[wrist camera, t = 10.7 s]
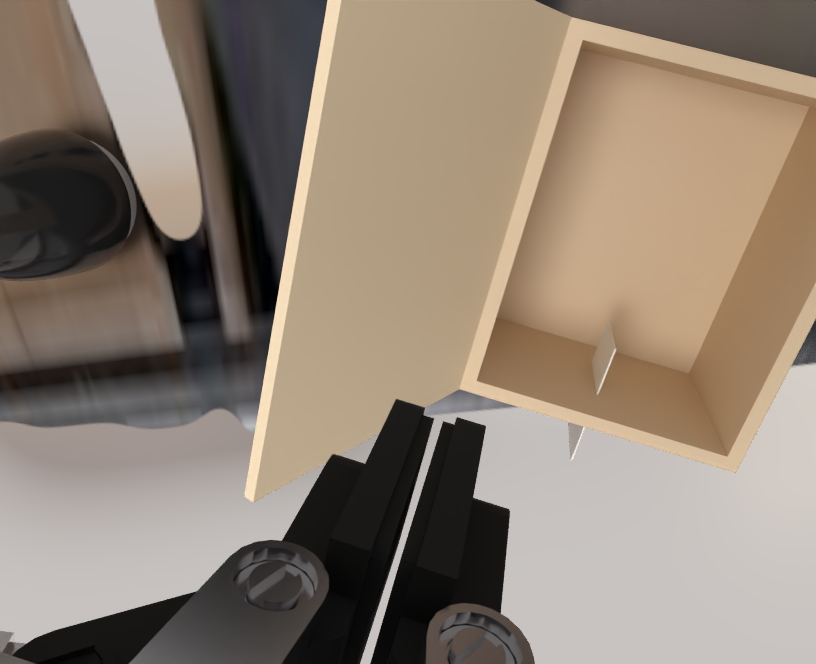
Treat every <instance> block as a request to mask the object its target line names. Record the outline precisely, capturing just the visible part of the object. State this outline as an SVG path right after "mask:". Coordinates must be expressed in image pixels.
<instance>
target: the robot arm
mask: <svg viewBox="0 0 816 664" xmlns="http://www.w3.org/2000/svg"><path fill="white" fill-rule="evenodd" d="M424 410H425V407H422V406H418V405H415V404H412V403H409V402H405V401H402V400H399V399H396V400H395V402H394V404H393V406H392V408H391V410H390V413H389V415H388V417H387V419H386V421H385V423H384V425H383V427H382V429H381V432H380V434H379V436H378V438H377V440H376V442H375V445H374V446H373V448H372V451H371V453H370V455H369V457H368V459H367V461H366V464H364V463H361V462H358V461H355V460H351V459H348V458H345V457H342V456H339V455H336V454H333V455H331V457H330V458H329V460H328V461H327V463H326V465H325V467H324V468H323V470H322V472H321V474H320V475H319V477H318V479H317V481H316V482H315V484H314V486H313V488H312V489H311V491H310V493H309V495H308V496H307V498H306V500H305V502H304V504H303V505H302V507H301V508H300V510H299V512H298V514H297V516H296V517H295V519H294V521H293V522H292V524H291V526H290V528H289V530H288V531H287V533H286V535H285V537H284V538H283V540H282V541H278V540H267V541H259V542H254V543H252V544H249V545H247V546H244V547H242V548H240V549H239V550H238V551H236V552H235V553H234V554H232V555H231V556H230V557H229V558H228V559H227V560H226V561H225V562H224V563H223V564H222V565H221V567H220V568H219V569H218V570H217V571H216V572H215V573H214V574H213V575H212V576H211V577H210V578H209V579H208V581H206V582H205V583H204V585H203V586H202V587H201V588H200V589H199V590H198V591H196V592H193V593H190V594H185V595H182V596H178V597H175V598H171V599H167V600H164V601H160V602H157V603H153V604H149V605H145V606H142V607H138V608H135V609H131V610H127V611H124V612H120V613H116V614H113V615H109V616H106V617H102V618H98V619H95V620H91V621H87V622H84V623H80V624H77V625H73V626H69V627H66V628H62V629H58V630H55V631H52V632H50V633H47V634H44V635H42V636H39V637H37V638H34V639H33V640H31V641H30V642H28V643H27V644H23V643H15V642H14V633H11V632H4V631H0V664H360V661H361V658H362V655H363V652H364V649H365V646H366V643H367V640H368V637H369V633H370V631H371V628H372V625H373V621H374V618H375V615H376V612H377V609H378V606H379V603H380V600H381V596H382V594H383V590H384V587H385V584H386V581H387V578H388V575H389V572H390V569H391V566H392V563H393V559H394V556H395V553H396V550H397V547H398V544H399V540H400V537H401V533H402V529H403V526H404V523H405V519H406V516H407V512H408V509H409V505H410V502H411V498H412V494H413V491H414V487H415V484H416V481H417V477H418V473H419V470H420V466H421V463H422V459H423V456H424V452H425V449H426V445H427V442H428V438H429V435H430V431H431V428H432V424H433V420H434V418H430V417H427V416H424V415H423V414H424ZM485 429H486V426H484V425H481V424H477V423H474V422H471V421H468V420H464V419H461V418H458V417H457V419H456V422H455V425H453V424H450V423H447V422H443V424H442V427H441V430H440V434H439V437H438V440H437V443H436V447H435V450H434V453H433V456H432V459H431V463H430V466H429V469H428V472H427V476H426V479H425V482H424V486H423V489H422V492H421V496H420V499H419V502H418V505H417V508H416V511H415V515H414V518H413V521H412V525H411V527H410V531H409V534H408V537H407V541H406V544H405V547H404V550H403V554H402V557H401V560H400V564H399V567H398V570H397V574H396V577H395V581H394V584H393V587H392V591H391V595H390V598H389V601H388V605H387V609H386V612H385V615H384V619H383V623H382V626H381V629H380V633H379V636H378V639H377V643H376V647H375V650H374V653H373V657H372V660H371V663H370V664H535V662H534V657H533V654H532V650H531V648H530V644H529V642H528V641H527V639H526V638H525V636H524V635H523V633H522V632H521V630H520V629H519V628H518V627H517V626H516V625H515V624H513V623H512V622H511V621H510V620H509V619H508V618H507V617H505V616H503V615H502V614H501V603H502V592H503V582H504V571H505V560H506V549H507V538H508V528H509V517H510V511H509V509H507V508H503V507H500V506H497V505H493V504H491V503H487V502H484V501H481V500H478V499H475V498H473V494H474V489H475V483H476V478H477V472H478V467H479V461H480V455H481V451H482V445H483V440H484V434H485Z"/></svg>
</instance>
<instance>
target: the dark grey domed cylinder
mask: <svg viewBox="0 0 816 664" xmlns="http://www.w3.org/2000/svg"><path fill="white" fill-rule="evenodd" d="M136 210H137V204H136V195H135V191H134V187H133V184H132V182H131V180H130V177H129V176H128V174H127V172H126V170H125V169H124V167H123V166H122V165H121V163H120V162H119V161H118V160H117V159H116V158H115V157H114V156H113V155H112V154H111V153H110V152H108V151H107V150H106V149H104V148H103V147H101V146H100V145H98V144H96V143H94V142H93V141H90V140H88V139H86V138H84V137H82V136H81V135H78V134H76V133H73V132H70V131H67V130H62V129H40V130H33V131H29V132H25V133H21V134H18V135H15V136H11V137H8V138H6V139H3V140H0V280H8V281H35V280H46V279H54V278H60V277H65V276H70V275H74V274H78V273H82V272H86V271H89V270H92V269H95V268H97V267H99V266H101V265H103V264H105V263H107V262H109V261H110V260H111V259H113V258H114V257H115V256H116V255H117V254H118V253H119V251H120V250H121V249H122V247H123V246H124V244H125V242H126V240H127V238H128V236H129V235H130V233H131V231H132V228H133V226H134V222H135V218H136Z"/></svg>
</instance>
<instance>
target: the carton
mask: <svg viewBox="0 0 816 664" xmlns="http://www.w3.org/2000/svg"><path fill="white" fill-rule="evenodd" d="M815 319H816V78H814V77H810V76H806V75H802V74H798V73H794V72H790V71H786V70H782V69H778V68H774V67H770V66H766V65H762V64H758V63H754V62H750V61H746V60H742V59H738V58H734V57H730V56H726V55H722V54H718V53H714V52H710V51H706V50H702V49H698V48H694V47H690V46H685V45H681V44H677V43H673V42H669V41H665V40H661V39H657V38H653V37H649V36H645V35H641V34H637V33H633V32H629V31H625V30H621V29H617V28H613V27H609V26H605V25H601V24H597V23H593V22H589V21H585V20H581V19H577V18H573V17H571V20H570V24H569V27H568V30H567V34H566V37H565V40H564V44H563V47H562V50H561V54H560V57H559V60H558V63H557V67H556V70H555V73H554V77H553V80H552V83H551V87H550V90H549V93H548V97H547V100H546V103H545V107H544V110H543V113H542V117H541V120H540V123H539V127H538V130H537V133H536V136H535V140H534V143H533V146H532V150H531V153H530V156H529V160H528V163H527V166H526V170H525V173H524V176H523V180H522V183H521V186H520V190H519V193H518V196H517V200H516V203H515V206H514V209H513V213H512V216H511V219H510V223H509V226H508V229H507V233H506V236H505V239H504V243H503V246H502V249H501V253H500V256H499V259H498V263H497V266H496V269H495V273H494V276H493V279H492V282H491V286H490V289H489V292H488V296H487V299H486V302H485V306H484V309H483V312H482V316H481V319H480V322H479V326H478V329H477V332H476V336H475V339H474V342H473V345H472V349H471V352H470V355H469V359H468V362H467V365H466V369H465V372H464V375H463V379H462V382H461V385H460V389H461V390H464V391H468V392H471V393H474V394H478V395H481V396H484V397H487V398H491V399H494V400H497V401H501V402H504V403H507V404H510V405H514V406H517V407H520V408H524V409H527V410H530V411H534V412H537V413H540V414H544V415H547V416H550V417H553V418H557V419H560V420H564V421H566V422H568V426H569V443H570V461H572V460H573V457H574V454H575V452H576V450H577V447H578V445H579V442H580V440H581V437H582V435H583V432H584V430H585V427H586V428H590V429H593V430H596V431H599V432H603V433H606V434H609V435H613V436H616V437H619V438H622V439H626V440H629V441H633V442H636V443H639V444H642V445H646V446H649V447H652V448H656V449H659V450H662V451H665V452H669V453H672V454H676V455H678V456H682V457H685V458H688V459H692V460H695V461H698V462H702V463H705V464H708V465H711V466H715V467H718V468H722V469H725V470H728V471H731V472H734V473H736V472H737V470H738V468H739V466H740V464H741V462H742V460H743V458H744V456H745V454H746V452H747V450H748V448H749V447H750V445H751V443H752V440H753V439H754V437H755V435H756V433H757V431H758V429H759V427H760V425H761V423H762V421H763V420H764V417H765V416H766V414H767V412H768V410H769V408H770V406H771V404H772V402H773V400H774V398H775V396H776V394H777V392H778V391H779V389H780V387H781V385H782V383H783V381H784V379H785V377H786V375H787V373H788V371H789V369H790V367H791V365H792V363H793V362H794V360H795V358H796V356H797V354H798V352H799V350H800V348H801V346H802V344H803V342H804V340H805V338H806V336H807V334H808V333H809V331H810V329H811V327H812V325H813V323H814V321H815Z"/></svg>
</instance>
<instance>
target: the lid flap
mask: <svg viewBox="0 0 816 664" xmlns="http://www.w3.org/2000/svg"><path fill="white" fill-rule="evenodd" d="M570 20H571V17H570V16H568V15H566V14H563V13H561V12H559V11H557V10H555V9H552V8H550V7H548V6H546V5H543V4H541V3H539V2H537V1H535V0H328V2H327V8H326V14H325V20H324V26H323V32H322V37H321V43H320V49H319V55H318V61H317V67H316V73H315V79H314V85H313V91H312V97H311V103H310V109H309V115H308V121H307V127H306V132H305V138H304V144H303V150H302V156H301V162H300V168H299V174H298V180H297V186H296V192H295V198H294V204H293V210H292V216H291V222H290V227H289V233H288V239H287V245H286V251H285V257H284V263H283V269H282V275H281V281H280V287H279V293H278V299H277V305H276V311H275V317H274V323H273V328H272V334H271V340H270V346H269V352H268V358H267V364H266V370H265V376H264V382H263V388H262V394H261V400H260V406H259V412H258V418H257V423H256V429H255V435H254V442H253V447H252V453H251V459H250V465H249V471H248V477H247V483H246V489H245V495H244V496H245V497H246V498H248V499H249V500H250V501H252V502H255V501H257V500H259V499H261V498H263V497H264V496H266V495H268V494H270V493H272V492H273V491H275V490H277V489H279V488H280V487H282V486H284V485H286V484H288V483H289V482H292V481H293V480H295V479H297V478H299V477H301V476H302V475H304V474H306V473H308V472H310V471H312V470H313V469H315V468H317V467H319V466H320V465H322V464H324V463H326V462H327V461H328V460H329V458H330V457H331V455H333V454H336V455H340V454H342V453H344V452H346V451H348V450H350V449H351V448H353V447H355V446H357V445H359V444H361V443H362V442H364V441H366V440H368V439H370V438H371V437H373V436H375V435H377V434H379V433H380V432H381V429H382V427H383V425H384V423H385V421H386V419H387V417H388V415H389V413H390V410H391V408H392V406H393V404H394V402H395V400H396V399H399V400H402V401H405V402H409V403H412V404H415V405H418V406H422V407H425V408H426V407H428V406H429V405H431V404H433V403H435V402H437V401H439V400H440V399H442V398H444V397H446V396H448V395H449V394H451V393H453V392H455V391H457V390H458V389H460V385H461V382H462V379H463V375H464V372H465V369H466V365H467V362H468V359H469V355H470V352H471V349H472V345H473V342H474V339H475V336H476V332H477V329H478V326H479V322H480V319H481V316H482V312H483V309H484V306H485V302H486V299H487V296H488V292H489V289H490V286H491V282H492V279H493V276H494V273H495V269H496V266H497V263H498V259H499V256H500V253H501V249H502V246H503V243H504V239H505V236H506V233H507V229H508V226H509V223H510V219H511V216H512V213H513V209H514V206H515V203H516V200H517V196H518V193H519V190H520V186H521V183H522V180H523V176H524V173H525V170H526V166H527V163H528V160H529V156H530V153H531V150H532V146H533V143H534V140H535V136H536V133H537V130H538V127H539V123H540V120H541V117H542V113H543V110H544V107H545V103H546V100H547V97H548V93H549V90H550V87H551V83H552V80H553V77H554V73H555V70H556V67H557V63H558V60H559V57H560V54H561V50H562V47H563V44H564V40H565V37H566V34H567V30H568V27H569V24H570Z"/></svg>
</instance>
